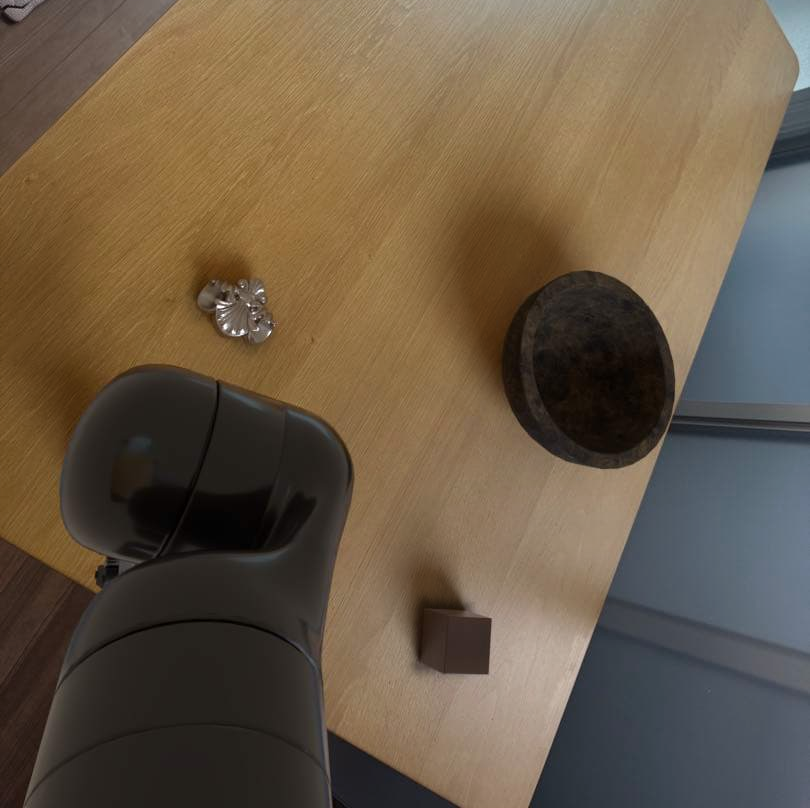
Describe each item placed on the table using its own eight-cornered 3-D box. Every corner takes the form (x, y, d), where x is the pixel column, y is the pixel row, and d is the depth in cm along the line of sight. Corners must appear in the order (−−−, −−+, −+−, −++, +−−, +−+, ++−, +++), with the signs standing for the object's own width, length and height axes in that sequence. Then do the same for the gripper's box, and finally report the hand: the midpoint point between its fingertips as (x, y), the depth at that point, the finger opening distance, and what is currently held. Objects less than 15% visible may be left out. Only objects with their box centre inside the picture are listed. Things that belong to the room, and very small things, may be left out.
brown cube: (462, 663, 75) (489, 675, 70) (419, 662, 73) (443, 674, 68) (466, 610, 76) (492, 618, 72) (424, 608, 74) (448, 616, 70)
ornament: (286, 306, 76) (298, 299, 73) (250, 361, 73) (260, 355, 70) (223, 261, 74) (231, 251, 71) (183, 314, 71) (190, 307, 68)
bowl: (585, 503, 86) (646, 506, 78) (441, 411, 81) (490, 403, 72) (635, 348, 96) (694, 335, 87) (509, 256, 90) (560, 233, 82)
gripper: (100, 346, 42) (83, 377, 56) (60, 614, 38) (52, 576, 52) (229, 358, 45) (182, 385, 59) (204, 607, 41) (160, 573, 55)
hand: (121, 474), depth 56 cm, fingers open, 8 cm apart
